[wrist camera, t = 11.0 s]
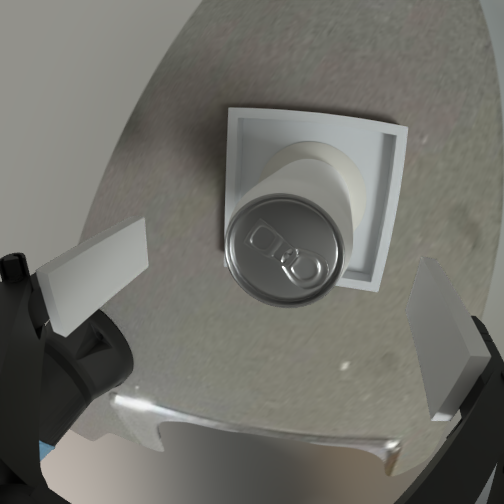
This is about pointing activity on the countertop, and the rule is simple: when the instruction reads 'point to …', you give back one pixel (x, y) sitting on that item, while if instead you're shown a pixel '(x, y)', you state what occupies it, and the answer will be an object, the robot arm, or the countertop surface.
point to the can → (291, 235)
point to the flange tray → (335, 154)
